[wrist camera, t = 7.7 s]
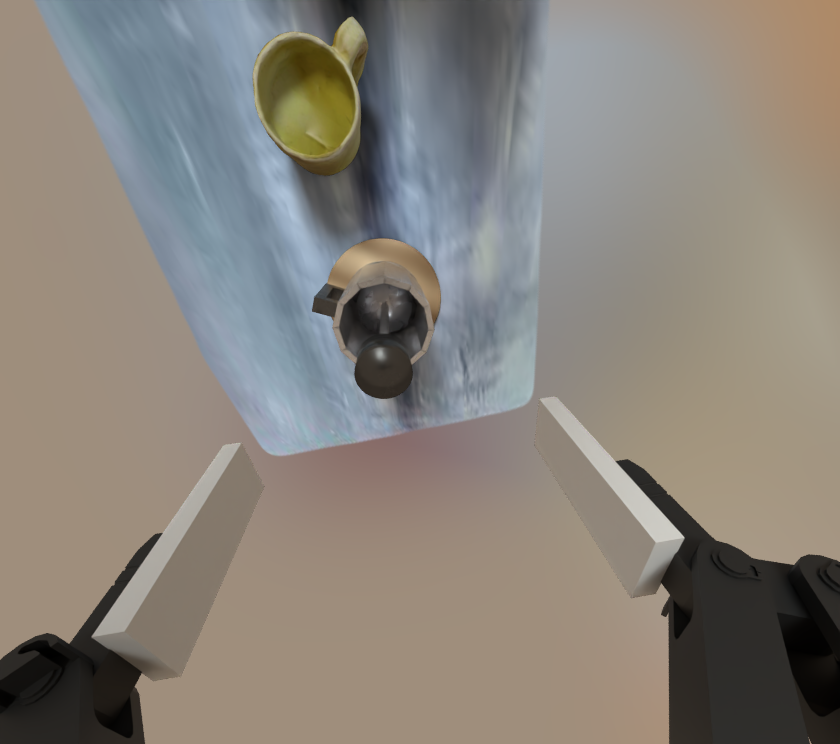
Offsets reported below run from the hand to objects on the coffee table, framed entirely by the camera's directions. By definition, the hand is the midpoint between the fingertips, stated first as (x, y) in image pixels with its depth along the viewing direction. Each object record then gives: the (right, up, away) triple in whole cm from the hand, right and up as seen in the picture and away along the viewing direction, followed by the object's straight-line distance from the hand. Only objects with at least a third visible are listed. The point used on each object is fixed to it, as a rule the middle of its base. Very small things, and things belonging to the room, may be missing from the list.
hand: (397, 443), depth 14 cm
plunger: (-4, +12, +27) cm, 30 cm away
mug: (-9, +32, +20) cm, 38 cm away
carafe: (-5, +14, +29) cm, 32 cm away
